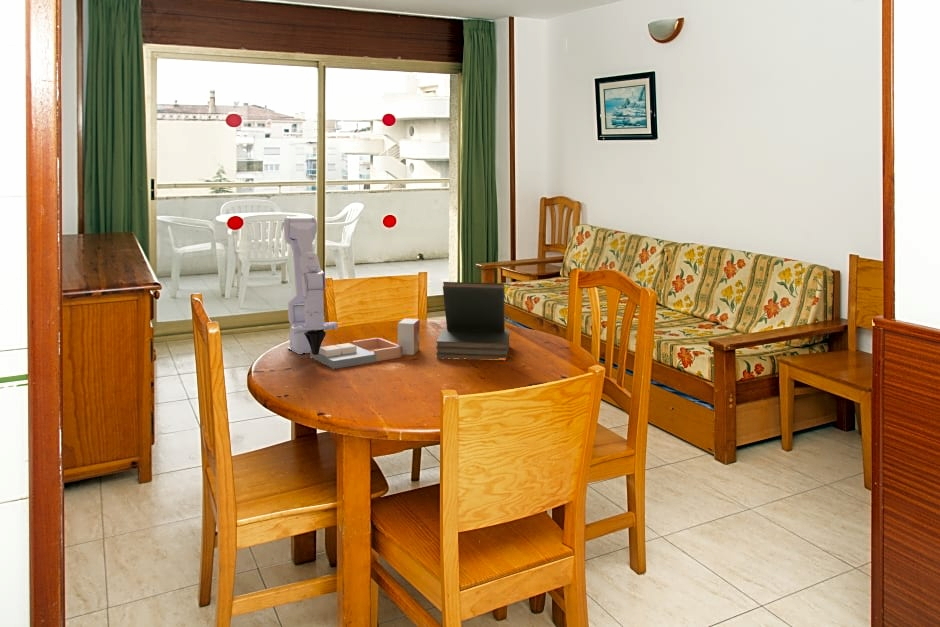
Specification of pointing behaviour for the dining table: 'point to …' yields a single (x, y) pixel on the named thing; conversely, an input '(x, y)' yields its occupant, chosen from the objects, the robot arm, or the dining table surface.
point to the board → (346, 358)
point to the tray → (380, 348)
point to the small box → (409, 335)
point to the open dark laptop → (473, 322)
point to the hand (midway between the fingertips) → (315, 354)
